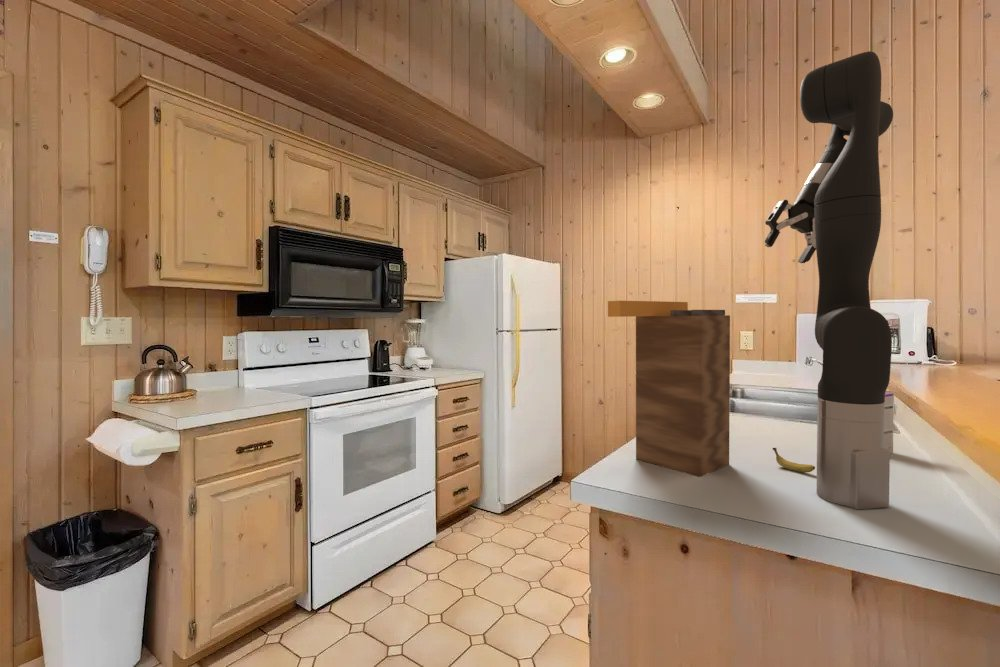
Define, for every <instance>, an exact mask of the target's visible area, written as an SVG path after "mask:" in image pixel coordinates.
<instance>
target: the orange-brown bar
mask: <svg viewBox="0 0 1000 667" xmlns="http://www.w3.org/2000/svg"><path fill="white" fill-rule="evenodd" d="M688 303H689V302H688V301H662V300H661V301H659V300H658V301H656V300H654V301H652V300H651V301H650V300H608V301H607V318H608V317H609V318H610V317H611V318H612V317H615V318H616V317H617V318H619V317H636V316H671V310H689V306H688V305H689V304H688Z"/></svg>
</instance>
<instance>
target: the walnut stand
mask: <svg viewBox="0 0 1000 667" xmlns="http://www.w3.org/2000/svg"><path fill="white" fill-rule="evenodd" d="M730 352H731V315H729V314H728V315H726V309H691V310H689V309H688V310H671V316H635V459H636V460H637V459H639V460H638V461H641V460H642V461H641V462H644V461H645V463H648V462H649V464H652V465H655V464H656V466H660V467H662V466H663V468H665V469H666V468H667V469H670V470H674V471H678V472H681V473H684V472H685V474H689V475H692V476H696V477H699V478H700V477H702V475H703V476H705V475H707V473H708V474H710V473H713V472H714V471H717V470H720V469H722V468H724V467H727V466H730V406H731V405H730V402H731V401H730V394H731V393H730V386H731V385H730V384H731V382H730V379H731V378H730V376H731V373H730V371H731V370H730V368H731V367H730V366H731V364H730V363H731V356H730V354H731V353H730ZM712 471H713V472H712Z"/></svg>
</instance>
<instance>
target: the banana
mask: <svg viewBox="0 0 1000 667" xmlns="http://www.w3.org/2000/svg"><path fill="white" fill-rule="evenodd" d="M772 451H774V453H775V455H776V458H775V460H776V463H777V464H778V465H779V466H780V467H782V468H784V469H786V470H790V471H792V470H793V472H796V473H797V472H798V473H811V472H814V470H815V469H816V466H814V465H813V464H808V463H807V464H803V463H797V462H792V461H789V460H788V459H785V458H784V457H782V456H781V455H780V454H779V453H778V450H777V447H772Z"/></svg>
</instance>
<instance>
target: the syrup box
mask: <svg viewBox="0 0 1000 667" xmlns="http://www.w3.org/2000/svg"><path fill="white" fill-rule="evenodd" d="M894 393H895V392H894V390H887V389H886V392H885V402H884V403H885V412H884V449H887V450H889V451H890V454H893V453H894V413H895V412H894V408H895V395H894Z"/></svg>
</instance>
